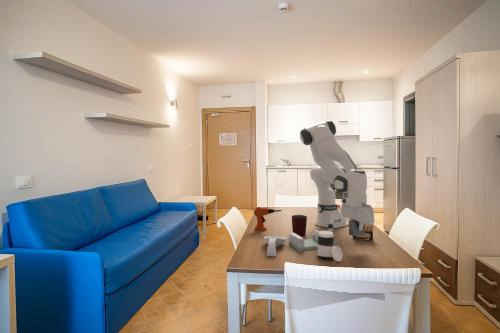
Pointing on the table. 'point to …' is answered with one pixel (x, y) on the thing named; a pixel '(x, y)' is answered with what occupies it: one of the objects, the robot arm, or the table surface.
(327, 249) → the spread jar
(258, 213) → the toy drill
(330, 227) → the sliding jaw
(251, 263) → the table surface
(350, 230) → the steel block
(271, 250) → the spoon rest
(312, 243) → the vise
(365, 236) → the ammunition clip
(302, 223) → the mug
